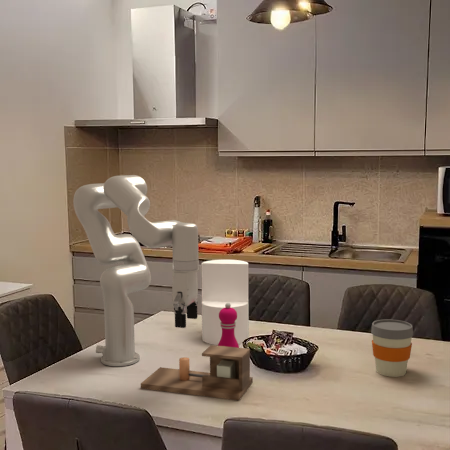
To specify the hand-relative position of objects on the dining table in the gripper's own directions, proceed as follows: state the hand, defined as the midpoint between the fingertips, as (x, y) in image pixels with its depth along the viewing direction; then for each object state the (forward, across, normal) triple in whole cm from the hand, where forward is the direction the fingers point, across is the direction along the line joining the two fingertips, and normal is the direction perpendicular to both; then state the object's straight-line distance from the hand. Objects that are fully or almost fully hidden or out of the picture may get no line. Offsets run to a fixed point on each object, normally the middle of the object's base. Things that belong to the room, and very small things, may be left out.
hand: (186, 322), depth 177 cm
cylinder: (+19, -46, -2) cm, 49 cm away
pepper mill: (+19, -20, +7) cm, 29 cm away
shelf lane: (+18, +1, +3) cm, 19 cm away
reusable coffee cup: (+19, -26, +58) cm, 66 cm away
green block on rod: (+17, +1, +6) cm, 18 cm away
